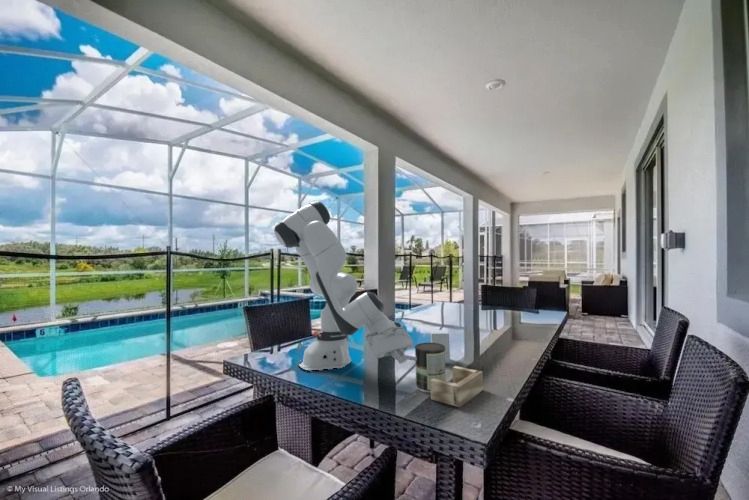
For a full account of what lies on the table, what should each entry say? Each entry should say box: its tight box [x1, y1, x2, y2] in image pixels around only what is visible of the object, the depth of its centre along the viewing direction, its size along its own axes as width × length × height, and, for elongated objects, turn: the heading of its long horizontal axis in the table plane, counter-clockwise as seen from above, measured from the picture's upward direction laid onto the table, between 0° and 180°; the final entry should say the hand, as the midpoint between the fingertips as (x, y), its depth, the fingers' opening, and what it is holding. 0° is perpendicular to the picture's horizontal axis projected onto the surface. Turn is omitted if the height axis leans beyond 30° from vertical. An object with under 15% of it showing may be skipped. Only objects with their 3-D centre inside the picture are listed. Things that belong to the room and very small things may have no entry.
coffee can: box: [414, 342, 446, 394], centre depth 118 cm, size 10×10×14 cm
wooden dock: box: [430, 365, 484, 408], centre depth 112 cm, size 10×17×6 cm, turn 140°
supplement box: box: [430, 329, 451, 364], centre depth 148 cm, size 7×7×13 cm
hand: (403, 362), depth 123 cm, fingers closed
